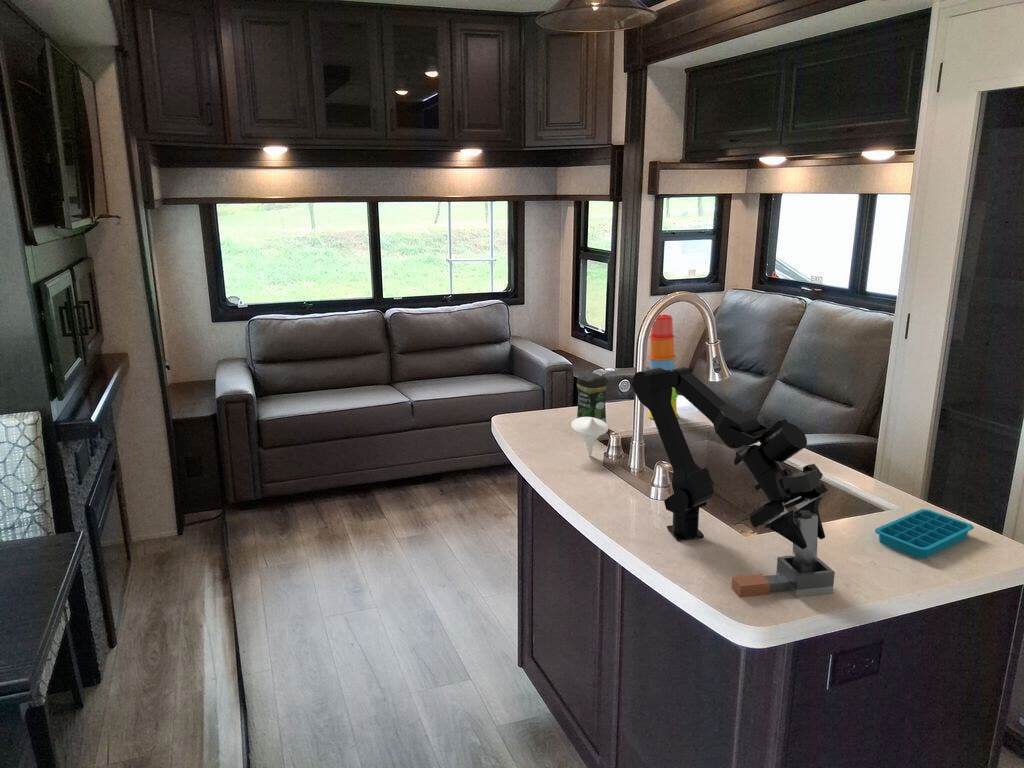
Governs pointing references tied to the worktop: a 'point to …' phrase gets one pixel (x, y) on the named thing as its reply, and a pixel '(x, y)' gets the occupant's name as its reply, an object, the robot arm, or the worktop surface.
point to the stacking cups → (663, 350)
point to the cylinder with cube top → (809, 530)
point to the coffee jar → (591, 396)
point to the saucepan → (786, 581)
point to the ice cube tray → (923, 533)
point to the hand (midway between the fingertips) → (814, 543)
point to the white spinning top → (589, 430)
